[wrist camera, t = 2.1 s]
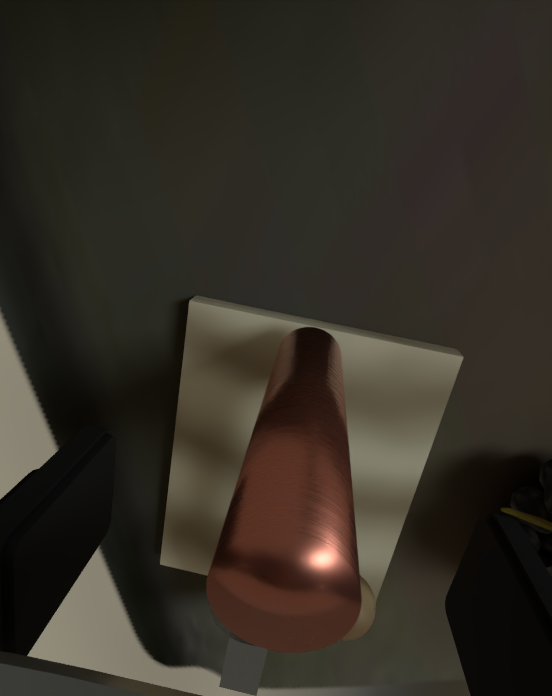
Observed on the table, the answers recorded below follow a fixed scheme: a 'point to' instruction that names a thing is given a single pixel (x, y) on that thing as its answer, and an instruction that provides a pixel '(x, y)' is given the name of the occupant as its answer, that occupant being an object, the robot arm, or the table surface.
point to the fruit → (536, 514)
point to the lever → (290, 519)
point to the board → (243, 407)
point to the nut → (363, 612)
